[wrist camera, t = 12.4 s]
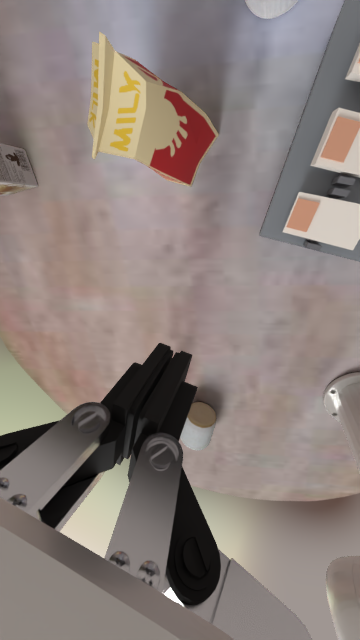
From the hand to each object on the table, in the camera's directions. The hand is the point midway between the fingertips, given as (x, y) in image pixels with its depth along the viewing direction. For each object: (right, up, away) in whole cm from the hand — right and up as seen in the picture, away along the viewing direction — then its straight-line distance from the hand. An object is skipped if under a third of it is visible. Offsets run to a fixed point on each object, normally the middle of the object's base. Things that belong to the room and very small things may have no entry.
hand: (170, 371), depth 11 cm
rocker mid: (+19, +20, +12) cm, 30 cm away
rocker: (+18, +14, +15) cm, 27 cm away
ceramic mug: (+5, -20, +45) cm, 50 cm away
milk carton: (0, +28, +23) cm, 36 cm away
